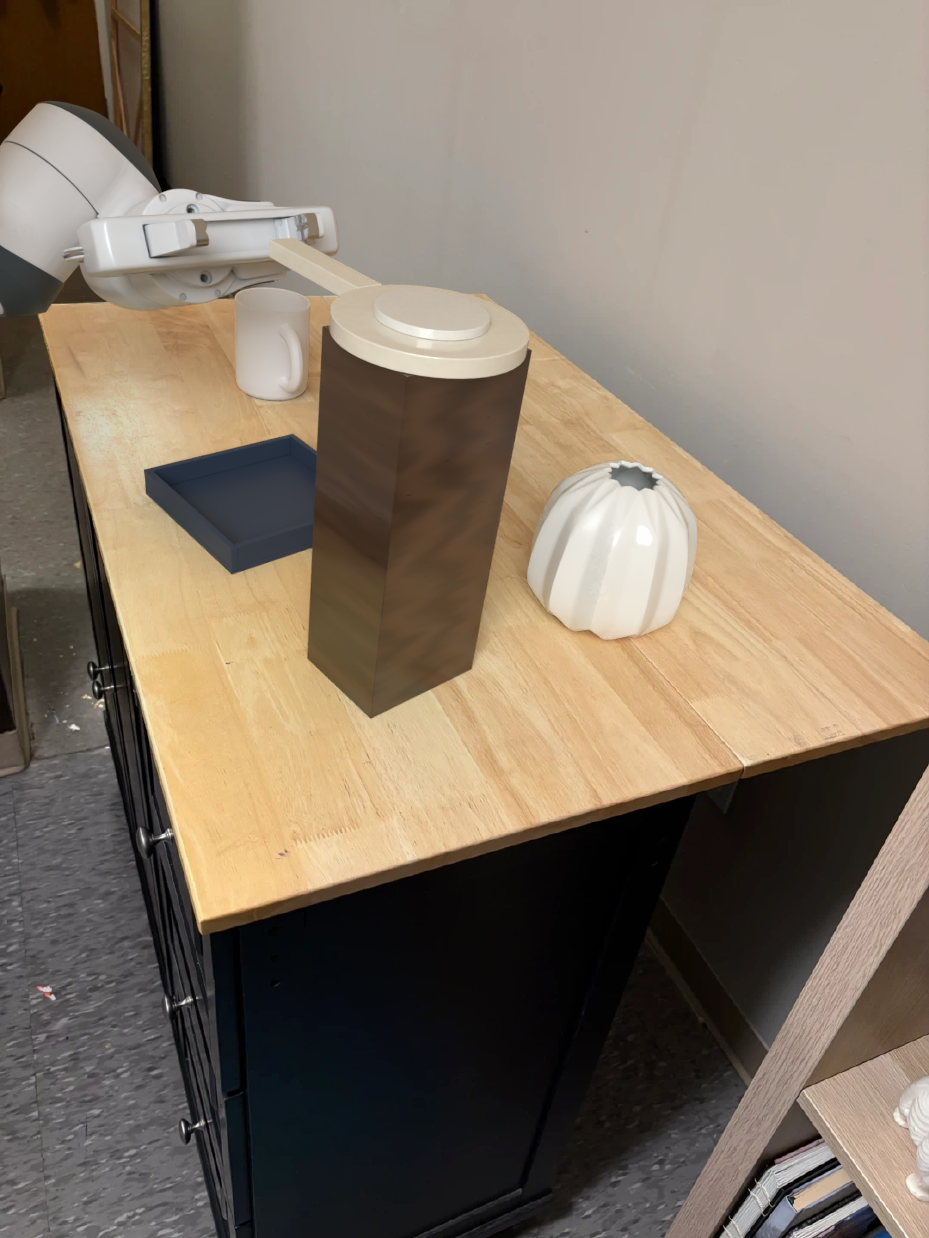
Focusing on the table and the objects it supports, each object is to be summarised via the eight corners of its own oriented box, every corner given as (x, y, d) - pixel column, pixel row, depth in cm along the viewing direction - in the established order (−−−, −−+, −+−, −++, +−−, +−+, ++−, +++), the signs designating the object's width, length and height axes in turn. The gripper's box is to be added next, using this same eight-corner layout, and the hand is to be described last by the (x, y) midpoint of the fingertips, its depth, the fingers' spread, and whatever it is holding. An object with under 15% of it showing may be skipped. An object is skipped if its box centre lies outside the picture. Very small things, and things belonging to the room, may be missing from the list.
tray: (231, 574, 77) (231, 549, 75) (145, 493, 85) (143, 469, 84) (382, 524, 87) (384, 500, 85) (292, 456, 95) (292, 433, 93)
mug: (331, 412, 104) (336, 324, 98) (261, 420, 100) (262, 328, 94) (291, 370, 112) (294, 285, 106) (225, 375, 108) (224, 288, 102)
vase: (704, 634, 80) (755, 501, 72) (583, 676, 73) (623, 535, 65) (605, 552, 88) (640, 425, 80) (487, 583, 81) (513, 448, 73)
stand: (370, 719, 66) (406, 377, 50) (306, 658, 70) (322, 326, 54) (471, 669, 72) (532, 350, 56) (407, 616, 76) (447, 306, 60)
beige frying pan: (416, 394, 48) (419, 362, 47) (203, 264, 60) (202, 235, 59) (566, 359, 55) (573, 330, 54) (350, 249, 67) (352, 223, 66)
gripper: (44, 214, 69) (105, 184, 59) (282, 203, 81) (368, 177, 70) (66, 301, 71) (128, 288, 61) (295, 278, 83) (380, 264, 72)
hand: (259, 228), depth 66 cm, fingers open, 8 cm apart
